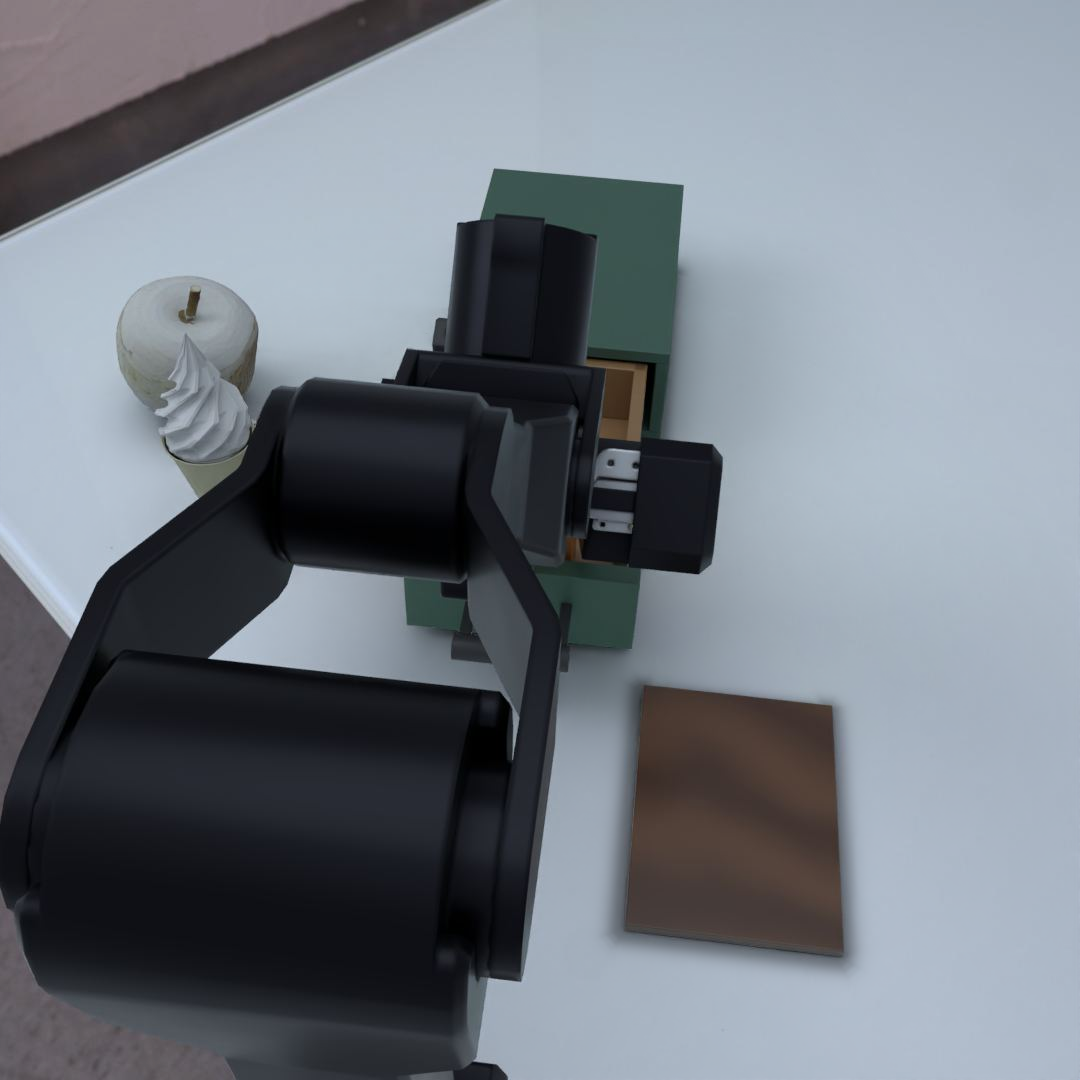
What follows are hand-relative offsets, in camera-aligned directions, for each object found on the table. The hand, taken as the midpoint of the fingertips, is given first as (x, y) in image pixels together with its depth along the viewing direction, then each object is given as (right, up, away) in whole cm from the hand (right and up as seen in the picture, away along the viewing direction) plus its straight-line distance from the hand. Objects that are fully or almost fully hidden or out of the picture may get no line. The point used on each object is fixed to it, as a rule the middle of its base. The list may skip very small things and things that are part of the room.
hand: (533, 494), depth 71 cm
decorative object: (-22, +6, +14) cm, 27 cm away
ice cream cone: (-18, -2, +6) cm, 19 cm away
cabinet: (+2, +11, +20) cm, 24 cm away
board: (+10, -16, -6) cm, 20 cm away
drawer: (0, -3, +5) cm, 6 cm away
